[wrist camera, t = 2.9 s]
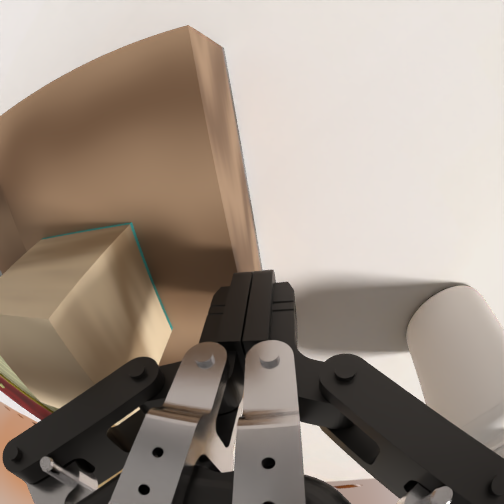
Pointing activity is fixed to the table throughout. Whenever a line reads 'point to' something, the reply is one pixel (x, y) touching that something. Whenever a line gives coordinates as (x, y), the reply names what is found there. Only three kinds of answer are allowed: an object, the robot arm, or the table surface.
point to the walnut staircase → (137, 169)
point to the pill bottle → (461, 362)
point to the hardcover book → (22, 393)
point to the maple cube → (79, 312)
